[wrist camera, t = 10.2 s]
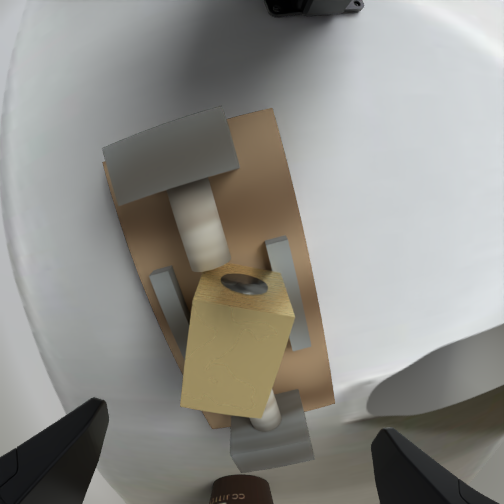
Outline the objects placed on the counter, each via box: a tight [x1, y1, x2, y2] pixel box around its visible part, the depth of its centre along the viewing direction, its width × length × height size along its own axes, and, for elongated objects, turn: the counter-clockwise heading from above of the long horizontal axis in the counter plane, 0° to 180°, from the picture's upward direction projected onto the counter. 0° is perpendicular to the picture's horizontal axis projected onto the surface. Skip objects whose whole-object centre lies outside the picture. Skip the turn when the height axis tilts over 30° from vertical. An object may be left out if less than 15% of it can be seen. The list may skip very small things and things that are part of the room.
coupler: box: [180, 263, 295, 419], centre depth 15 cm, size 6×4×5 cm, turn 168°
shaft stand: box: [102, 106, 335, 473], centre depth 16 cm, size 21×10×6 cm, turn 15°
